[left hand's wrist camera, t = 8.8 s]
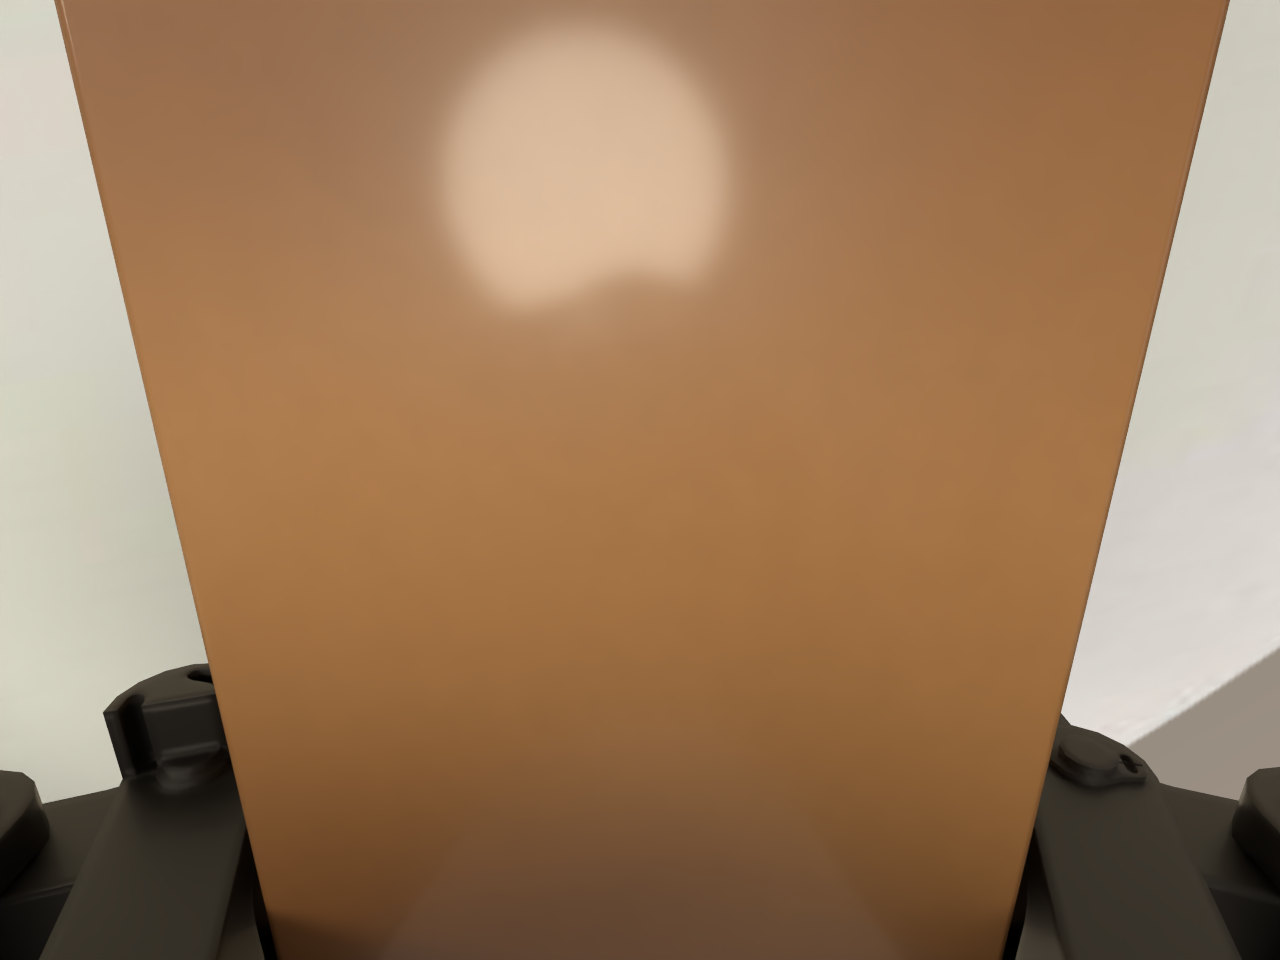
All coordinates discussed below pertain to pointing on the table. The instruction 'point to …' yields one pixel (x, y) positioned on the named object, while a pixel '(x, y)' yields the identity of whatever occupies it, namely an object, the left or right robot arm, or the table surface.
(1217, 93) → the table surface
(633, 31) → the bar
